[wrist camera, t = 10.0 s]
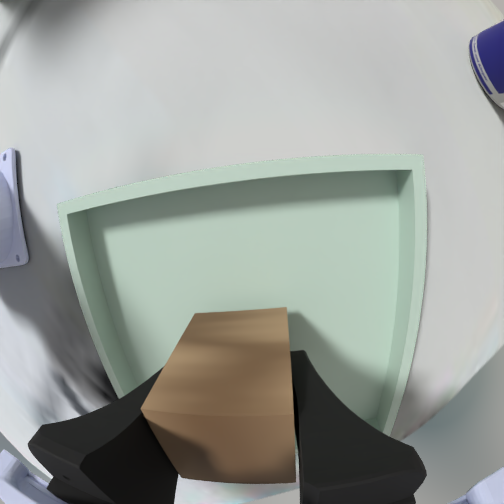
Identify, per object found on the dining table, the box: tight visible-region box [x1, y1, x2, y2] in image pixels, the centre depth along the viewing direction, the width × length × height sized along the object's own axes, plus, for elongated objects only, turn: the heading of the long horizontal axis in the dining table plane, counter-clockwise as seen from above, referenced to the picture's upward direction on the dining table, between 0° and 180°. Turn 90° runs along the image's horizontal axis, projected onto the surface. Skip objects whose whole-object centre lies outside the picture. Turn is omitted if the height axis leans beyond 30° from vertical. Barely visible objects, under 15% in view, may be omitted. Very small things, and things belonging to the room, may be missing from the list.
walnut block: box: [141, 307, 296, 484], centre depth 9 cm, size 4×4×6 cm
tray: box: [57, 154, 427, 453], centre depth 13 cm, size 16×16×2 cm
